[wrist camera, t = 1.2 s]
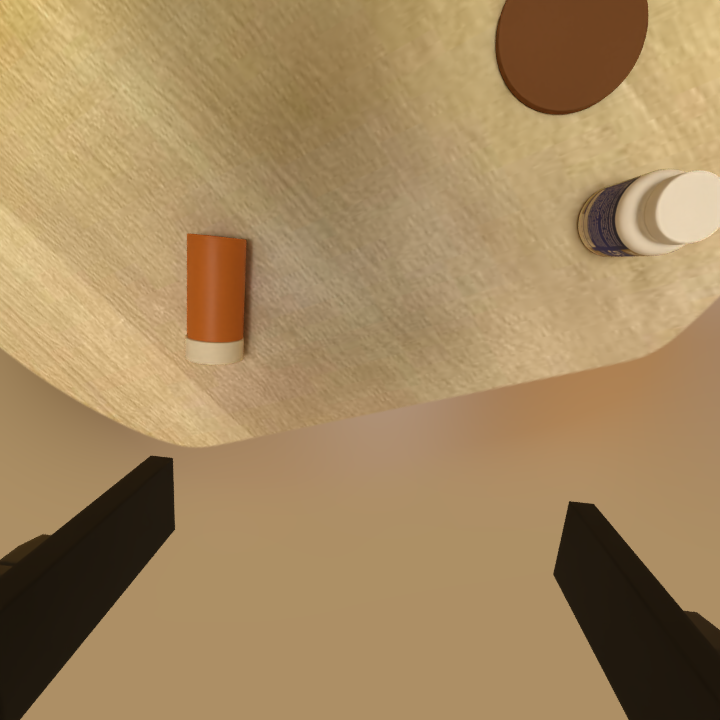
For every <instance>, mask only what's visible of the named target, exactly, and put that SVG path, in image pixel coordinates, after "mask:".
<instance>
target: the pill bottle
mask: <svg viewBox="0 0 720 720" xmlns="http://www.w3.org/2000/svg"><path fill="white" fill-rule="evenodd" d="M719 227H720V177H719V176H717V175H716V174H714V173H711V172H708V171H702V170H696V171H690V172H685V171H681V170H677V169H662V170H657V171H653V172H650V173H647V174H645V175H642V176H639V177H636V178H633V179H630V180H627V181H624V182H621V183H618V184H615V185H611V186H608V187H605V188H603V189H601V190H599V191H598V192H596V193H595V194H594V195H593V196H592V197H590V198H589V200H588V201H587V202H586V203H585V205H584V207H583V209H582V211H581V213H580V216H579V222H578V229H579V235H580V238H581V240H582V242H583V243H584V245H585V246H586V247H587V248H588V249H589V250H590V251H592V252H594V253H595V254H598V255H601V256H611V257H613V256H657V255H664V254H668V253H671V252H673V251H676V250H678V249H680V248H681V247H683V246H684V245H686V244H691V243H695V242H699V241H701V240H704V239H705V238H707V237H709V236H710V235H712V234H713V233H714V232H715V231H716V230H717V229H718V228H719Z"/></svg>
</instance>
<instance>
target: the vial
mask: <svg viewBox="0 0 720 720" xmlns="http://www.w3.org/2000/svg"><path fill="white" fill-rule="evenodd" d="M245 270H246V240H244V239H236V238H227V237H218V236H209V235H199V234H187V335H186V336H185V358H186V360H188V361H190V362H193V363H198V364H205V365H227V364H233V363H237V362H240V361H241V360H242V359H243V348H244V338H243V328H244V299H245Z"/></svg>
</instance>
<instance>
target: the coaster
mask: <svg viewBox="0 0 720 720" xmlns="http://www.w3.org/2000/svg"><path fill="white" fill-rule="evenodd" d="M647 27H648V3H647V0H507V1H506V3H505V5H504V8H503V10H502V13H501V16H500V19H499V23H498V28H497V34H496V55H497V62H498V66H499V69H500V72H501V75H502V77H503V80H504V81H505V83H506V85H507V87H508V88H509V89H510V91H511V92H512V93H513V94H514V96H516V97H517V98H518V99H519V100H520V101H521V102H522V103H524V104H525V105H527V106H528V107H530V108H532V109H534V110H537V111H540V112H543V113H549V114H569V113H574V112H578V111H581V110H584V109H586V108H589V107H591V106H592V105H594V104H596V103H598V102H599V101H601V100H602V99H603V98H605V97H606V96H608V95H609V94H610V93H611V92H613V91H614V90H615V89H616V88H617V87H618V86H619V85H620V84H621V83H622V82H623V80H624V79H625V78H626V77H627V76H628V74H629V73H630V71H631V70H632V68H633V67H634V65H635V63H636V61H637V59H638V57H639V55H640V53H641V50H642V48H643V44H644V41H645V37H646V32H647Z"/></svg>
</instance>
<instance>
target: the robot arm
mask: <svg viewBox="0 0 720 720" xmlns="http://www.w3.org/2000/svg"><path fill="white" fill-rule="evenodd" d="M174 519H175V518H174V482H173V458H167V457H158V456H150V457H149V458H147V459H146V460H145V461H144V462H142V463H141V464H140V465H139V466H137V467H136V468H135V469H134V470H132V471H131V472H130V473H129V474H127V475H126V476H125V477H124V478H122V479H121V480H120V481H119V482H117V483H116V484H115V485H114V486H112V487H111V488H110V489H109V490H107V491H106V492H105V493H104V494H102V495H101V496H100V497H99V498H97V499H96V500H95V501H94V502H92V503H91V504H90V505H89V506H87V507H86V508H85V509H84V510H82V511H81V512H80V513H79V514H77V515H76V516H75V517H74V518H72V519H71V520H70V521H69V522H67V523H66V524H65V525H64V526H62V527H61V528H60V529H59V530H57V531H56V532H55V533H54V534H52V535H40V536H38V537H36V538H34V539H32V540H30V541H28V542H26V543H24V544H22V545H20V546H18V547H17V548H15V549H14V550H13V551H11V552H10V553H9V554H8V555H6V556H5V557H3V558H2V559H1V560H0V720H20V719H21V718H22V717H23V715H24V714H25V713H26V712H27V710H28V709H29V708H30V707H31V705H32V704H33V703H34V702H35V701H36V699H37V698H38V697H39V696H40V694H41V693H42V692H43V691H44V689H45V688H46V687H47V686H48V684H49V683H50V682H51V681H52V679H53V678H54V677H55V676H56V675H57V673H58V672H59V671H60V670H61V669H62V667H63V666H64V665H65V664H66V662H67V661H68V660H69V659H70V658H71V656H72V655H73V654H74V653H75V651H76V650H77V649H78V648H79V647H80V645H81V644H82V643H83V641H84V640H85V639H86V638H87V637H88V635H89V634H90V633H91V632H92V630H93V629H94V628H95V627H96V625H97V624H98V623H99V622H100V621H101V619H102V618H103V617H104V616H105V615H106V613H107V612H108V611H109V610H110V608H111V607H112V606H113V605H114V603H115V602H116V601H117V600H118V599H119V597H120V596H121V595H122V594H123V592H124V591H125V590H126V589H127V588H128V586H129V585H130V584H131V583H132V581H133V580H134V579H135V578H136V576H137V575H138V574H139V573H140V572H141V570H142V569H143V568H144V567H145V565H146V564H147V563H148V562H149V560H150V559H151V558H152V557H153V556H154V554H155V553H156V552H157V551H158V549H159V548H160V547H161V546H162V545H163V543H164V542H165V541H166V540H167V538H168V537H169V536H170V535H171V533H172V532H173V531H174V530H175V520H174ZM554 577H555V579H556V581H557V582H558V584H559V586H560V588H561V590H562V592H563V594H564V596H565V598H566V600H567V602H568V603H569V606H570V607H571V609H572V611H573V613H574V615H575V617H576V619H577V621H578V623H579V625H580V627H581V629H582V631H583V633H584V634H585V636H586V638H587V640H588V642H589V644H590V646H591V648H592V650H593V652H594V654H595V656H596V658H597V660H598V661H599V663H600V665H601V667H602V669H603V671H604V673H605V675H606V677H607V679H608V681H609V683H610V685H611V686H612V688H613V690H614V692H615V694H616V696H617V698H618V700H619V702H620V704H621V706H622V708H623V710H624V712H625V714H626V715H627V717H628V719H629V720H720V630H719V629H718V628H716V627H715V626H714V625H713V624H711V623H710V622H709V621H707V620H706V619H705V618H703V617H702V616H701V615H700V614H698V613H697V612H689V611H683V610H682V609H681V608H680V606H679V605H678V604H677V603H676V602H675V601H674V599H673V598H672V597H671V596H670V595H669V593H668V592H667V591H666V590H665V588H664V587H663V586H662V585H661V584H660V583H659V581H658V580H657V579H656V578H655V577H654V575H653V574H652V573H651V572H650V571H649V569H648V568H647V567H646V566H645V565H644V564H643V562H642V561H641V560H640V559H639V558H638V556H637V555H636V554H635V553H634V551H633V550H632V549H631V548H630V547H629V546H628V544H627V543H626V542H625V541H624V540H623V538H622V537H621V536H620V535H619V534H618V532H617V531H616V530H615V529H614V528H613V526H612V525H611V524H610V523H609V522H608V521H607V519H606V518H605V517H604V516H603V514H602V513H601V512H600V511H599V510H598V509H597V507H596V506H595V505H594V504H589V503H580V502H571V501H570V502H569V505H568V510H567V514H566V519H565V523H564V528H563V533H562V537H561V542H560V546H559V551H558V556H557V560H556V564H555V569H554Z"/></svg>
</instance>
